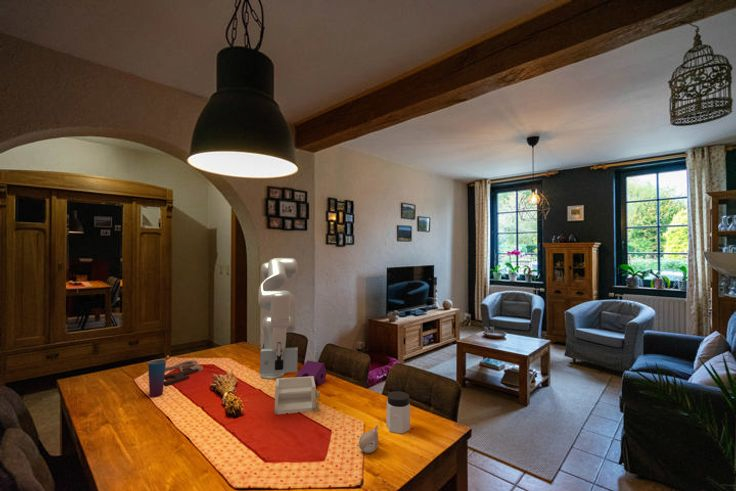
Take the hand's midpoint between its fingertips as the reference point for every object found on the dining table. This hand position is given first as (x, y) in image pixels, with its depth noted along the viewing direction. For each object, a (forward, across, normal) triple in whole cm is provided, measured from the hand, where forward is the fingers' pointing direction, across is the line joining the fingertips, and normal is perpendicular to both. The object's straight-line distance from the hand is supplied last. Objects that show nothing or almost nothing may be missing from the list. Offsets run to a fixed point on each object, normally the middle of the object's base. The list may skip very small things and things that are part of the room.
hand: (279, 367), depth 138 cm
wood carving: (+18, -54, -53) cm, 78 cm away
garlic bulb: (+18, +34, +30) cm, 49 cm away
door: (+2, 0, 0) cm, 2 cm away
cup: (+18, -26, -54) cm, 63 cm away
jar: (+18, +21, +44) cm, 53 cm away
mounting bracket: (+18, -25, +12) cm, 33 cm away
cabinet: (+18, -3, +7) cm, 19 cm away
